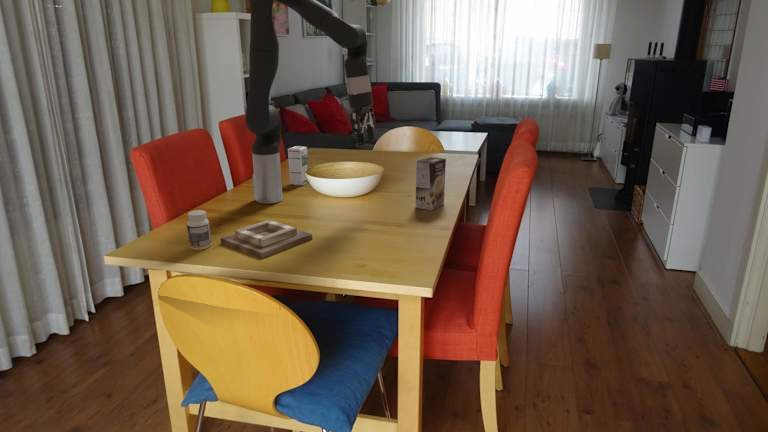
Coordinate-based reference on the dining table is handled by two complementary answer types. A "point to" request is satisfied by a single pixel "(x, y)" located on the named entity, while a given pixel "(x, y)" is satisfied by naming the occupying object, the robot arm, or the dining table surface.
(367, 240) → the dining table surface
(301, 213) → the dining table surface
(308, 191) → the dining table surface
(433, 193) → the coffee box
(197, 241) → the pill bottle
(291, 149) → the syrup box
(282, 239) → the socket block
